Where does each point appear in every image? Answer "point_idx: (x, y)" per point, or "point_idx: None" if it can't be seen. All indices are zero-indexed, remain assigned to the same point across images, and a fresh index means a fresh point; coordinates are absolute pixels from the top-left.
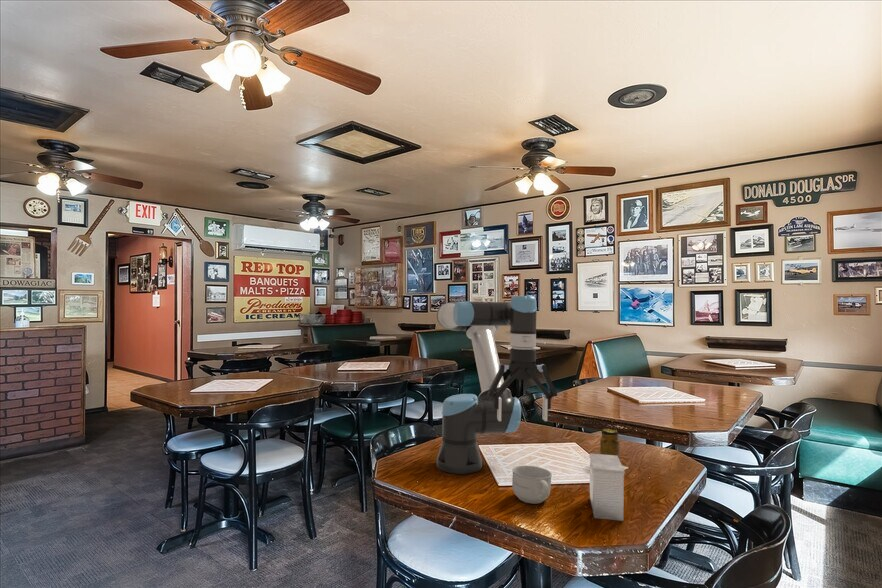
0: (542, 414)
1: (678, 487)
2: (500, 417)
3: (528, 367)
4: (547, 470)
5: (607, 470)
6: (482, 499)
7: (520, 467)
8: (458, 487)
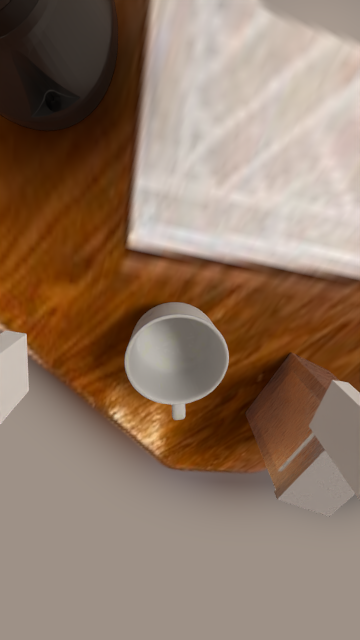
0: (352, 403)
1: None
2: (6, 408)
3: None
4: (226, 355)
5: (300, 505)
6: (69, 314)
7: (163, 319)
8: (17, 234)
